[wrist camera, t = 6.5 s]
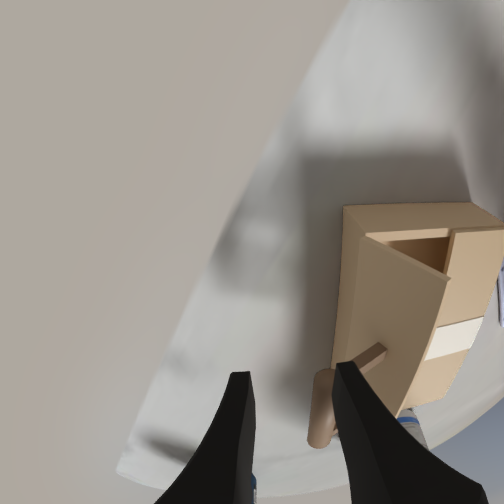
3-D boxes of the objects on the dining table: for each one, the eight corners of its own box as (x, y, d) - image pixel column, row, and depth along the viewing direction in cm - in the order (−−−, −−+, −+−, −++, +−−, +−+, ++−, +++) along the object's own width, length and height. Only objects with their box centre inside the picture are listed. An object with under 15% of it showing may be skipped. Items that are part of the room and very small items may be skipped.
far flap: (335, 419, 20) (286, 448, 19) (365, 235, 13) (283, 266, 11) (374, 457, 17) (323, 493, 15) (452, 278, 9) (376, 335, 8)
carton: (471, 202, 16) (511, 228, 12) (426, 364, 24) (443, 399, 20) (343, 205, 17) (369, 237, 13) (328, 382, 24) (336, 424, 20)
